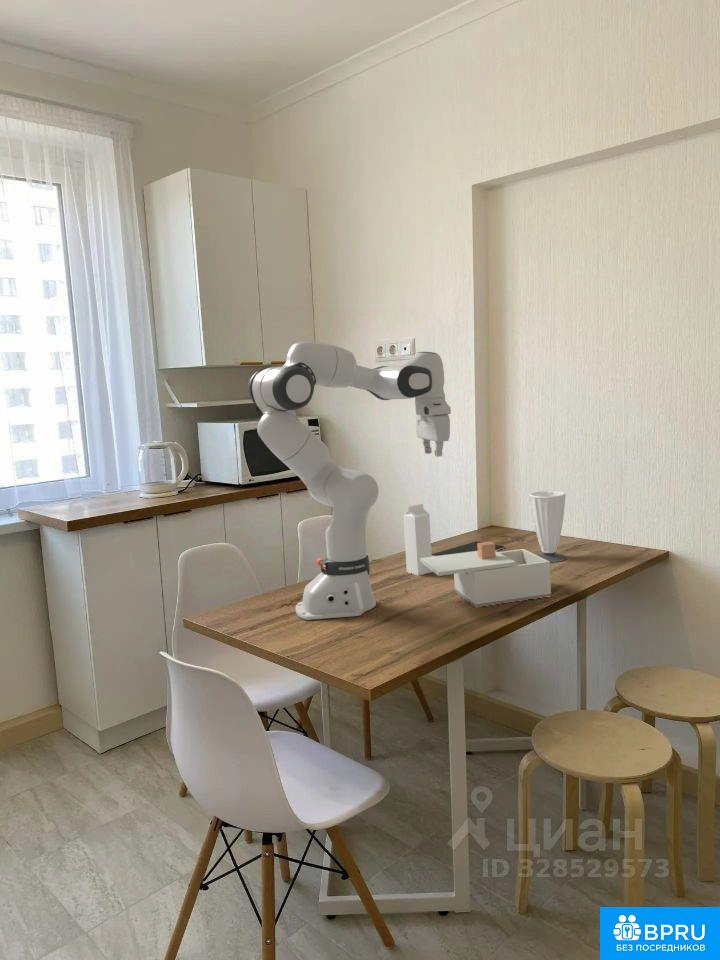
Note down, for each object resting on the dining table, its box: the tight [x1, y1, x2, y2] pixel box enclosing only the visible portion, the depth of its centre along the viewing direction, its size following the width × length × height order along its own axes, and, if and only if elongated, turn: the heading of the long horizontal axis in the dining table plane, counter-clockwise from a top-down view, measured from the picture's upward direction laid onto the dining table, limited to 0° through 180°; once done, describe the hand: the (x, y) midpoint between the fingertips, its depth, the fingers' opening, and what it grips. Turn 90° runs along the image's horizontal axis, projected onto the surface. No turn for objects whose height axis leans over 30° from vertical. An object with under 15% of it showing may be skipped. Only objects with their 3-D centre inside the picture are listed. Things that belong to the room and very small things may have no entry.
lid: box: [420, 541, 516, 577], centre depth 197 cm, size 22×16×5 cm
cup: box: [529, 490, 568, 564], centre depth 234 cm, size 12×12×22 cm
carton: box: [453, 548, 552, 608], centre depth 200 cm, size 22×16×10 cm
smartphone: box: [432, 540, 506, 557], centre depth 249 cm, size 13×27×2 cm, turn 131°
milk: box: [402, 503, 434, 577], centre depth 228 cm, size 6×6×22 cm
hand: (433, 454), depth 210 cm, fingers open, 8 cm apart
